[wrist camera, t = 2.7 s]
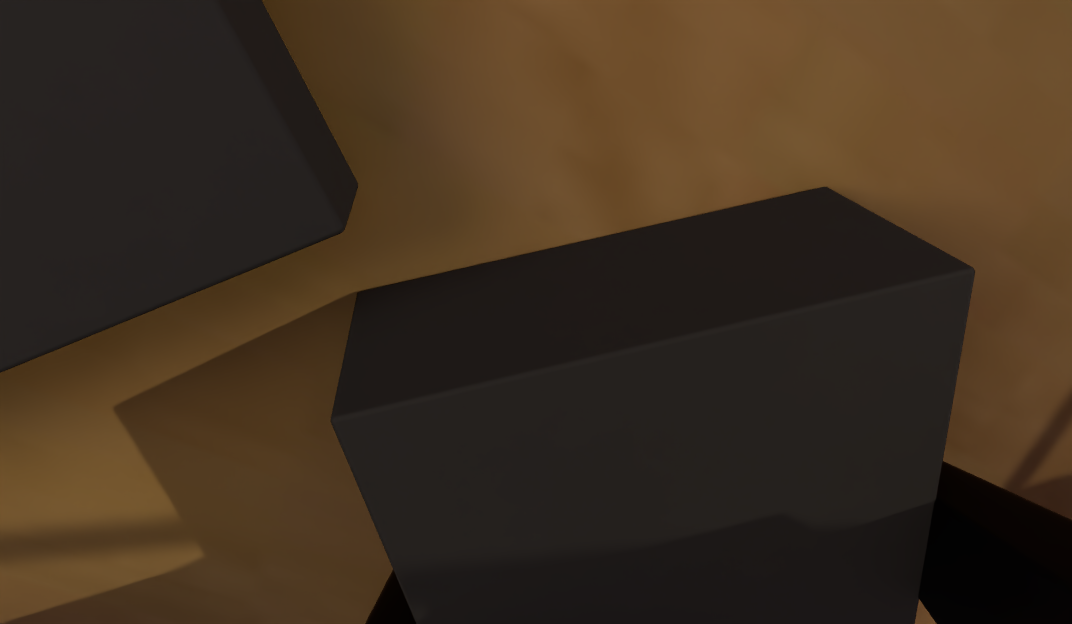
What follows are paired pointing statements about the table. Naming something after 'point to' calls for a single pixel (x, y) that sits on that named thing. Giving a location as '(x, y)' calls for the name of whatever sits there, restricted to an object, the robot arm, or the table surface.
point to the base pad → (149, 160)
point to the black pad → (663, 422)
